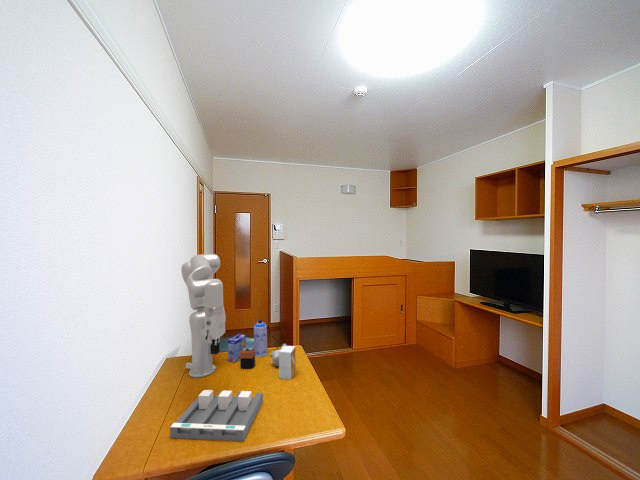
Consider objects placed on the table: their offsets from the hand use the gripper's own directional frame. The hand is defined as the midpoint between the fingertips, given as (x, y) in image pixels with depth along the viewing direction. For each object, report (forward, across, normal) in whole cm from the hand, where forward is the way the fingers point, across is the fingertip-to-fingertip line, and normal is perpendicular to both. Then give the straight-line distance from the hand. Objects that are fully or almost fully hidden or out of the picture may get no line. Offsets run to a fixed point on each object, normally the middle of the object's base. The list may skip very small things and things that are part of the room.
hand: (215, 353), depth 114 cm
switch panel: (+20, -12, -8) cm, 24 cm away
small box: (+20, +21, -27) cm, 39 cm away
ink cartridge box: (+19, +38, +6) cm, 43 cm away
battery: (+20, +28, -4) cm, 35 cm away
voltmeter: (+20, +38, -18) cm, 46 cm away
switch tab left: (+18, -8, 0) cm, 19 cm away
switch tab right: (+18, -8, -16) cm, 25 cm away
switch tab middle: (+18, -8, -8) cm, 21 cm away
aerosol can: (+19, +44, -6) cm, 49 cm away
